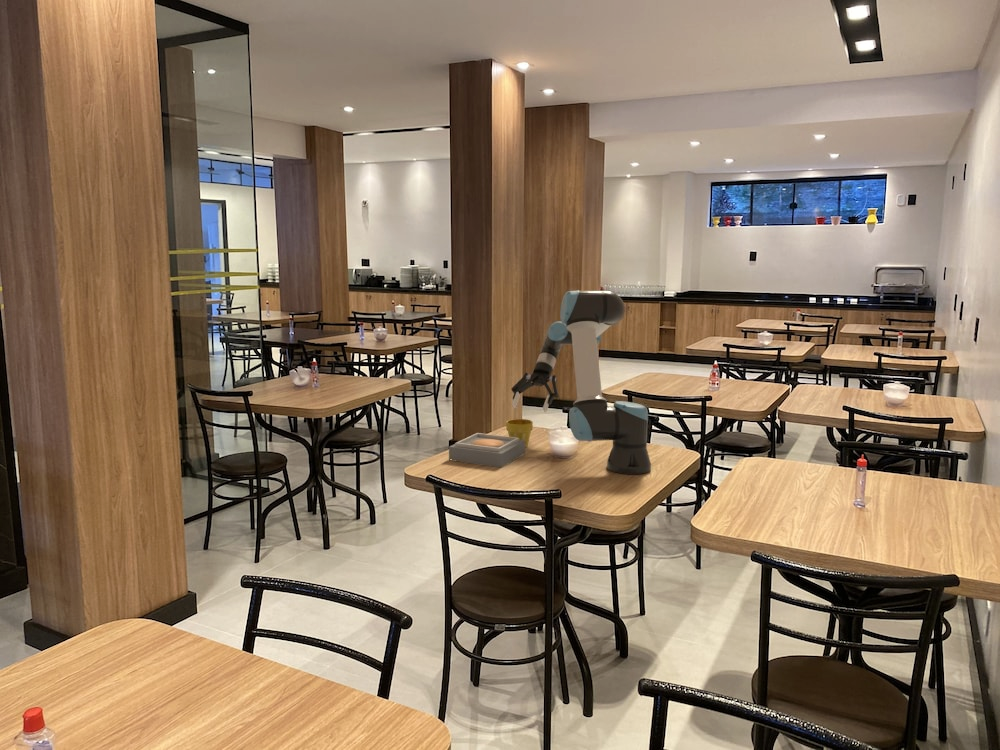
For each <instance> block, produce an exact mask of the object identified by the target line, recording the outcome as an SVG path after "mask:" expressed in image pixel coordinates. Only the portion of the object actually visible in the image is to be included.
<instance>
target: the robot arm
mask: <svg viewBox="0 0 1000 750" xmlns="http://www.w3.org/2000/svg"><path fill="white" fill-rule="evenodd" d="M625 313H626V305H625V303H624V301H623V299H622V298H621V296H619V295H618V294H617V293H615V292H613V291H610V290H579V289H577V290H569V291H566V292H565V294H564V295H563V297H562V300H561V304H560V312H559V316H560V321H555V322H553V323H552V324H551V325H550V326H549V328H548V330H547V333H546V336H545V338H544V340H543V341H544V342H543V344H542V346H541V350H540V353H539V355H538V358H537V360H536V362H535V365H534V367H533V371H532V374H528V372H525V373H524V375H523V376H522V377H521V378H520V379H519V381H517V382H516V383H515V384H514V385H513V387H511V391H512V394H513V396H512V403H511V406H512V409H515V410H516V408H517V407H518V406H517V405H518V403H519V400H520V399H521V398H520V397H521V394H522V393H524V392H525V391H526V390H528V389H529V388H531V387H532V388H533V386H536V387H537V386H539V387H543V386H544V388H545V389H546V391H547V393H548V394H547V395H546V399H545V400H544V404H543V406H542V410H543V412H544V413H547V411H548V408H549V405H552V403H553V400H554V398H556V399H557V398H559V397H560V396H559V391H558V386H557V381H558V379H557V377H556V375H555V374H553V371H554V368H555V365H556V363H557V359H558V356H559V354H560V351H561V350H562V347H563V345H564V346H565V345H570V346H571V345H572V353H573V355H572V356H573V366H574V376H575V385H576V386H575V387H576V388H575V389H576V396H577V397H576V400H575V401H574V402H573V403H572V404H573V407H571V408H570V409H569V411H568V416H569V417H568V419H569V420H568V422H569V427H570V431H571V432H572V433H571V434H572V435H573V437H574V438H575V439H576V440H577V441H580V442H592V441H596V442H597V441H602V442H603V441H612V447H611V450H610V452H609V456H608V458H607V461H606V468H607V470H609V471H610V472H614V473H618V474H625V475H642V473H643V474H646V473H649V472H651V470H652V463H651V460H650V455H649V452H648V449H647V448H648V447H647V445H648V426H649V425H648V423H649V415H648V414H649V411H648V408H647V407H646V406H644V405H643V404H639V403H637V402H636V403H635V402H632V401H631V402H630V401H625V400H624V401H623V400H621V401H620V400H619V401H617V400H616V401H614V402H613V406H609V405H608V400H607V399H606V398H605V397H603V392H602V381H601V371H600V361H599V352H598V345H599V344H600V342H601V340H602V334H604V333H605V331H607V330H608V329H609V328H610V327H611V326H616V325H618V324H619V323H620V322H621V321H622V320H623V319H624V316H625ZM552 374H553V375H552ZM549 382H551V383H552V389H553V391H552V389H551V388H550V387H549V384H548V383H549Z"/></svg>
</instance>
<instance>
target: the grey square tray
mask: <svg viewBox="0 0 1000 750" xmlns="http://www.w3.org/2000/svg"><path fill="white" fill-rule="evenodd" d="M525 454H526V447H525V440H519V438H516V437H509V435H508V436H507V435H500V434H499V435H498V434H490V433H481V432H476V433H474V434H472V435H470V436H468V437H466V438H463V439H461V440H459V441H457V442H454V444H452V445H450V446H448V460H449V459H452V460H456V461H455V462H458V461H460V463H467V464H473V465H474V464H475V465H482V466H488V467H496V468H504V467H505V466H507V465H509V464H510V463H512V462H513V461H515V460H517V459H518V458H521V457H522V456H523V455H525Z"/></svg>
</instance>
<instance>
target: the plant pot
mask: <svg viewBox="0 0 1000 750" xmlns="http://www.w3.org/2000/svg"><path fill="white" fill-rule="evenodd" d="M533 423H534V422H533V421H532V420H531V419H526V418H525V419H524V418H514V419H507V421H506V422H505V424H506V425H505V428H506V431H507V433H508V437H516V438H519V440H525V448H527V447H528V446H529V443H530V437H531V434H532V431H533V428H534V427H533V426H534V424H533Z"/></svg>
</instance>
